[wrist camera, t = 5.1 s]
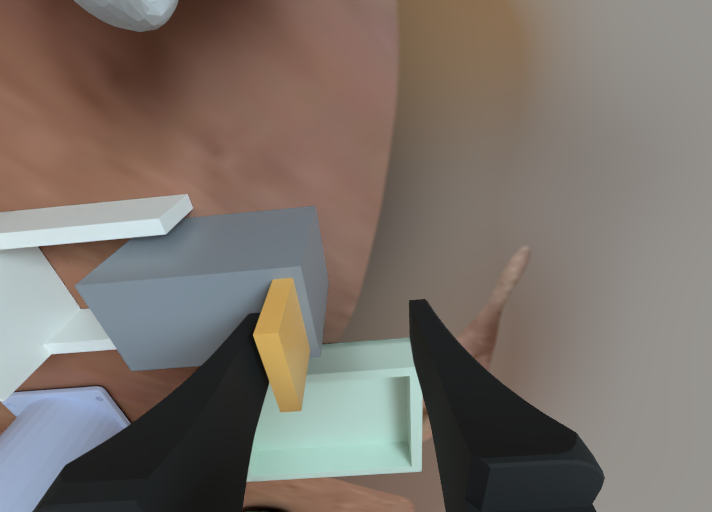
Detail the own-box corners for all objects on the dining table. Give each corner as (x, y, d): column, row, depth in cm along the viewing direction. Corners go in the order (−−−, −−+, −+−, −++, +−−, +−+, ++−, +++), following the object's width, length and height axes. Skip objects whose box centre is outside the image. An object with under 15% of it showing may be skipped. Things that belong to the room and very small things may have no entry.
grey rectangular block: (328, 280, 20) (314, 418, 13) (186, 292, 21) (87, 433, 13) (315, 205, 18) (287, 319, 10) (153, 220, 18) (6, 342, 10)
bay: (230, 306, 21) (191, 387, 16) (75, 319, 22) (-11, 401, 16) (187, 194, 17) (117, 252, 12) (-1, 212, 18) (-145, 276, 13)
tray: (416, 440, 29) (421, 471, 27) (253, 451, 30) (245, 481, 28) (415, 337, 23) (422, 366, 21) (207, 352, 23) (192, 383, 21)
